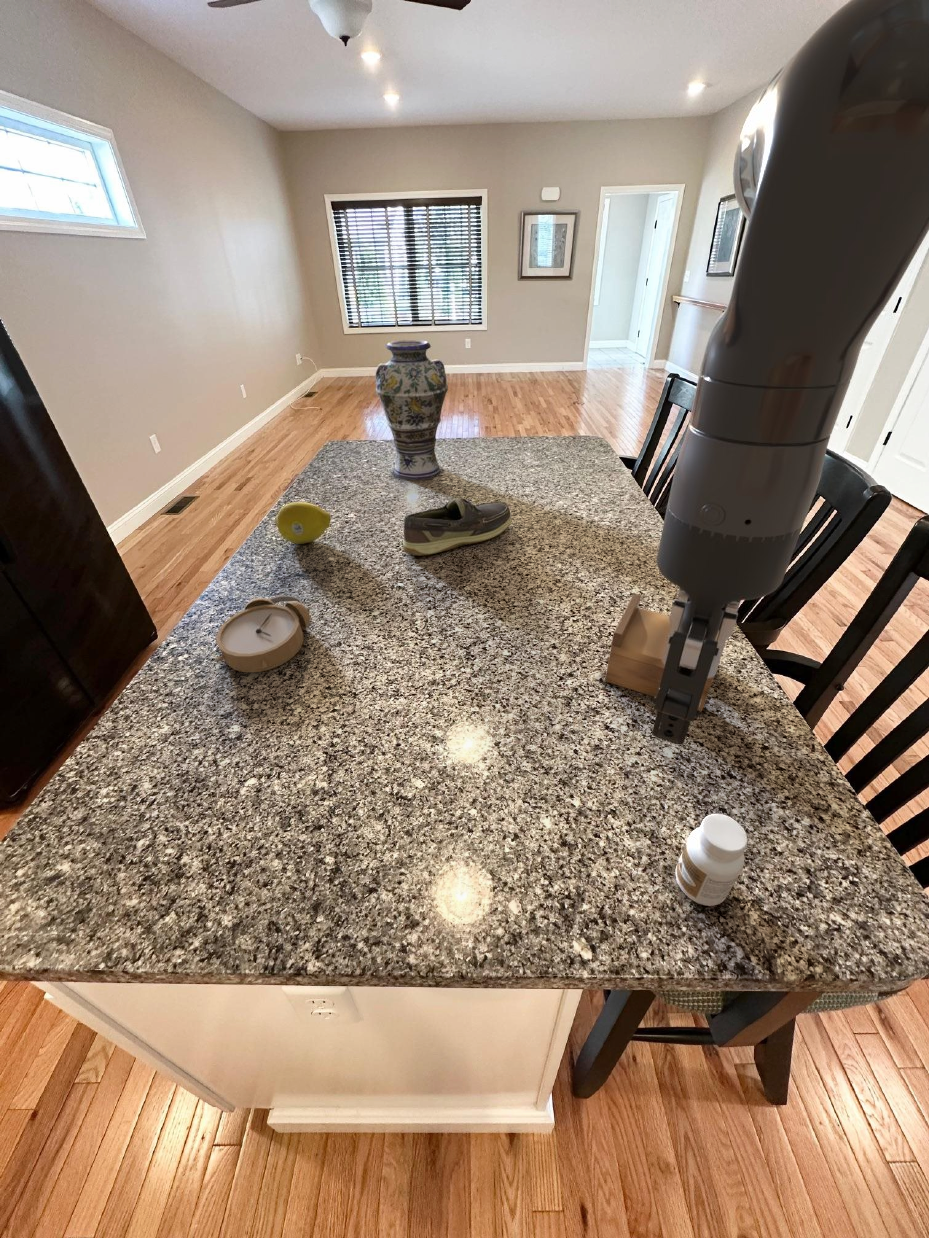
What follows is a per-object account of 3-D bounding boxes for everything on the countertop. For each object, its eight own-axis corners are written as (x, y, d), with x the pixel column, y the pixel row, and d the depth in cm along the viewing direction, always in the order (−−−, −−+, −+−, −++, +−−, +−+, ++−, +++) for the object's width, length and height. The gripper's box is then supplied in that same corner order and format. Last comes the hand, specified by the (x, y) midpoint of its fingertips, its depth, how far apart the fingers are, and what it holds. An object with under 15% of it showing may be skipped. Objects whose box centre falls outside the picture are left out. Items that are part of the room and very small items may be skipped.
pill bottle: (668, 857, 48) (688, 807, 43) (716, 859, 47) (741, 808, 43) (682, 906, 44) (706, 857, 39) (735, 908, 44) (764, 859, 39)
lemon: (271, 548, 100) (261, 509, 95) (290, 531, 106) (282, 494, 102) (323, 552, 98) (316, 513, 93) (339, 534, 104) (333, 497, 100)
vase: (457, 479, 129) (453, 345, 112) (388, 486, 126) (374, 349, 109) (444, 459, 142) (439, 336, 125) (381, 464, 139) (368, 340, 122)
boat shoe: (522, 528, 106) (524, 490, 101) (423, 567, 93) (420, 526, 88) (492, 514, 111) (493, 478, 107) (395, 550, 99) (391, 510, 94)
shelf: (712, 664, 70) (729, 616, 65) (701, 712, 63) (719, 661, 58) (624, 639, 74) (633, 593, 70) (604, 681, 67) (613, 632, 63)
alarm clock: (198, 653, 69) (251, 580, 79) (212, 675, 72) (262, 603, 83) (274, 662, 67) (319, 586, 77) (285, 685, 70) (327, 610, 81)
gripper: (803, 571, 24) (718, 787, 34) (808, 476, 34) (741, 662, 44) (642, 541, 27) (605, 746, 37) (689, 461, 37) (651, 638, 47)
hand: (679, 700), depth 40 cm, fingers open, 8 cm apart
